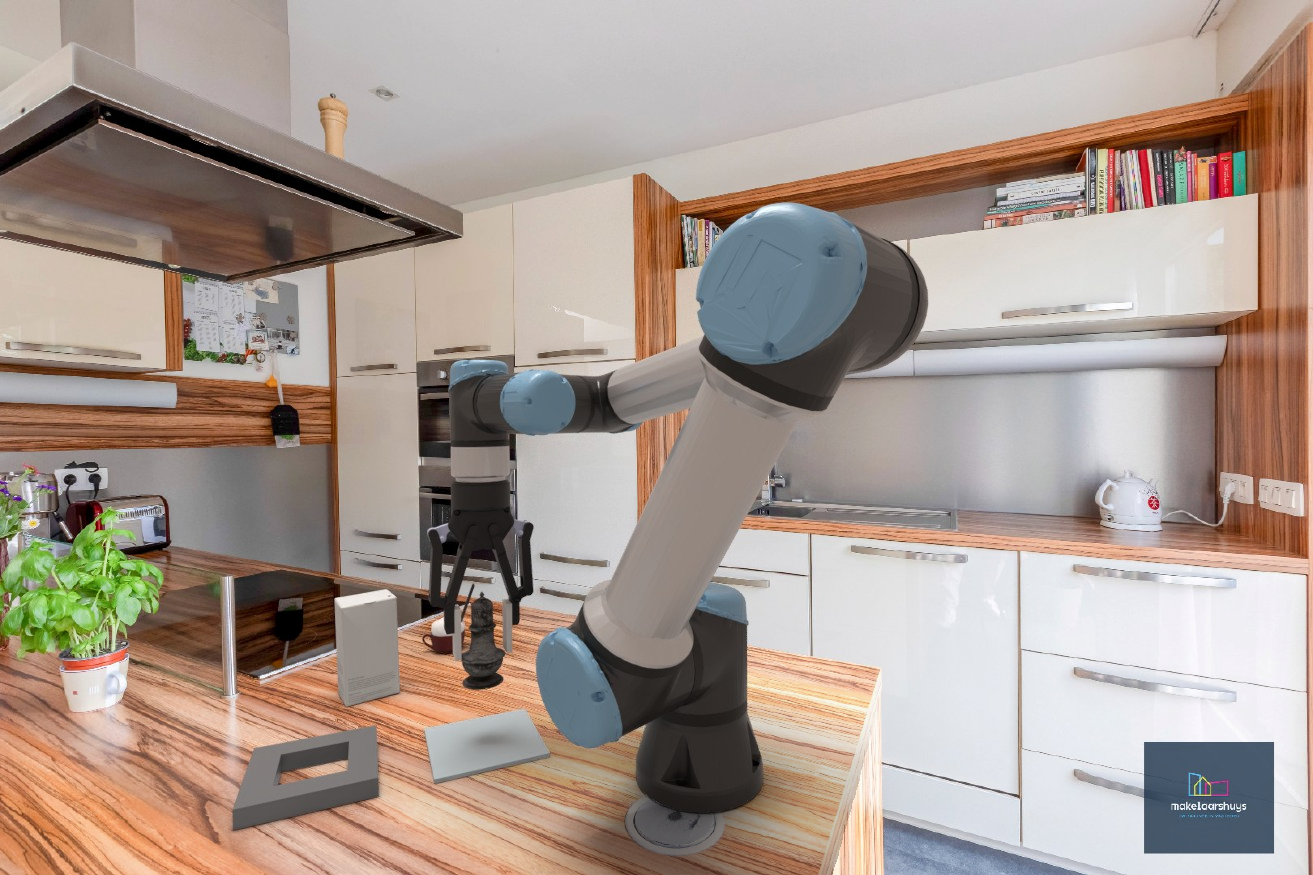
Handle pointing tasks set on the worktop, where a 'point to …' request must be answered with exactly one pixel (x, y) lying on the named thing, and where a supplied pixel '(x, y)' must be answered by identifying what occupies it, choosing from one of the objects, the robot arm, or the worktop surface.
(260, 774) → the grey square frame
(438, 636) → the cocoa
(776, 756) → the worktop surface
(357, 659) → the skincare box
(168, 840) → the worktop surface
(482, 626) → the salt shaker
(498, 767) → the mat
